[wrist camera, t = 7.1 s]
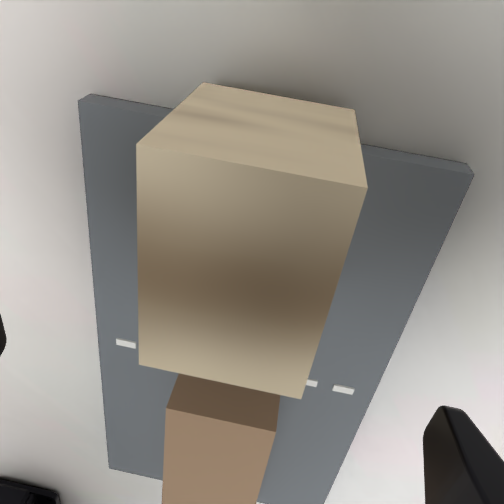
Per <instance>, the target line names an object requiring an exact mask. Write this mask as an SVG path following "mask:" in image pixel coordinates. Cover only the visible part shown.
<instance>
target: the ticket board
mask: <svg viewBox="0 0 504 504" xmlns="http://www.w3.org/2000/svg"><path fill="white" fill-rule="evenodd" d="M78 108H79V119H80V131H81V143H82V155H83V167H84V178H85V190H86V202H87V214H88V226H89V237H90V249H91V261H92V273H93V285H94V297H95V308H96V320H97V332H98V344H99V356H100V367H101V379H102V391H103V403H104V415H105V426H106V438H107V450H108V462H109V468H110V469H115V470H119V471H123V472H128V473H132V474H137V475H141V476H145V477H150V478H154V479H159V480H163V488H162V504H256V502H260V503H264V504H324V502H325V500H326V498H327V496H328V494H329V491H330V489H331V487H332V485H333V483H334V480H335V478H336V476H337V474H338V472H339V470H340V467H341V465H342V463H343V461H344V459H345V456H346V454H347V452H348V450H349V448H350V445H351V443H352V441H353V439H354V437H355V435H356V432H357V430H358V428H359V426H360V424H361V421H362V419H363V417H364V415H365V413H366V410H367V408H368V406H369V404H370V402H371V400H372V397H373V395H374V393H375V391H376V389H377V386H378V384H379V382H380V380H381V378H382V376H383V373H384V371H385V369H386V367H387V365H388V362H389V360H390V358H391V356H392V354H393V351H394V349H395V347H396V345H397V343H398V341H399V338H400V336H401V334H402V332H403V330H404V327H405V325H406V323H407V321H408V319H409V316H410V314H411V312H412V310H413V308H414V306H415V303H416V301H417V299H418V297H419V295H420V292H421V290H422V288H423V286H424V284H425V282H426V279H427V277H428V275H429V273H430V271H431V268H432V266H433V264H434V262H435V260H436V257H437V255H438V253H439V251H440V249H441V247H442V244H443V242H444V240H445V238H446V236H447V233H448V231H449V229H450V227H451V225H452V223H453V220H454V218H455V216H456V214H457V212H458V209H459V207H460V205H461V203H462V201H463V198H464V196H465V194H466V192H467V190H468V188H469V185H470V183H471V181H472V179H473V177H474V173H473V172H472V170H471V169H470V167H469V166H468V165H467V164H466V163H461V162H456V161H450V160H445V159H439V158H434V157H429V156H423V155H418V154H412V153H407V152H402V151H396V150H391V149H385V148H380V147H375V146H369V145H364V144H361V150H362V156H363V162H364V168H365V174H366V180H367V186H368V189H367V192H366V196H365V199H364V202H363V205H362V208H361V211H360V215H359V218H358V221H357V224H356V227H355V230H354V234H353V237H352V240H351V243H350V246H349V249H348V253H347V256H346V259H345V262H344V265H343V268H342V272H341V275H340V278H339V281H338V284H337V287H336V291H335V294H334V297H333V300H332V303H331V307H330V310H329V313H328V316H327V319H326V322H325V326H324V329H323V332H322V335H321V338H320V341H319V345H318V348H317V351H316V354H315V357H314V360H313V364H312V367H311V370H310V373H309V376H308V379H307V383H306V386H305V389H304V392H303V395H302V398H301V399H297V398H292V397H287V396H283V395H278V394H273V393H269V392H264V391H260V390H255V389H250V388H246V387H241V386H236V385H232V384H227V383H222V382H218V381H213V380H208V379H204V378H199V377H194V376H190V375H185V374H180V373H176V372H171V371H166V370H162V369H157V368H152V367H148V366H143V365H139V340H138V257H137V174H136V144H137V143H138V142H139V141H140V140H141V139H142V138H143V137H144V136H145V135H146V134H148V133H149V132H150V131H151V130H152V129H153V128H154V127H155V126H156V125H157V124H158V123H160V122H161V121H162V120H163V119H164V118H165V117H166V116H167V115H168V114H169V113H170V112H171V111H173V110H174V109H169V108H164V107H159V106H153V105H148V104H142V103H137V102H132V101H126V100H121V99H115V98H110V97H105V96H99V95H94V94H90V95H88V96H86V97H84V98H82V99H80V100H78Z"/></svg>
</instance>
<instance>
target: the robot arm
mask: <svg viewBox="0 0 504 504" xmlns="http://www.w3.org/2000/svg"><path fill="white" fill-rule="evenodd" d="M5 345H6V334H5V330H4V326H3V322H2V318H1V315H0V356H1V354H2V352H3V350H4V348H5ZM423 454H424V480H425V504H504V461H503V460H502V459H501V457H500V456H499V455H498V453H497V452H496V451H495V450H494V448H493V447H492V446H491V445H490V443H489V442H488V441H487V439H486V438H485V437H484V436H483V434H482V433H481V432H480V430H479V429H478V428H477V427H476V425H475V424H474V423H473V422H472V420H471V419H470V418H469V416H468V415H467V414H466V413H465V412H464V411H463V410H461V409H458V408H453V407H449V406H440V407H439V408H438V409H437V410H436V412H435V414H434V415H433V417H432V419H431V420H430V422H429V424H428V425H427V427H426V429H425V431H424V435H423ZM0 504H60V501H59V496H58V494H56V493H55V492H52V491H49V490H44V489H40V488H36V487H31V486H27V485H23V484H18V483H14V482H10V481H5V480H1V479H0Z"/></svg>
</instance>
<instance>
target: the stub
mask: <svg viewBox="0 0 504 504" xmlns="http://www.w3.org/2000/svg"><path fill="white" fill-rule="evenodd" d="M136 174H137V257H138V340H139V365H143V366H148V367H152V368H157V369H162V370H166V371H171V372H176V373H180V374H185V375H190V376H194V377H199V378H204V379H208V380H213V381H218V382H222V383H227V384H232V385H236V386H241V387H246V388H250V389H255V390H260V391H264V392H269V393H273V394H278V395H283V396H287V397H292V398H297V399H301V398H302V395H303V392H304V389H305V386H306V383H307V379H308V376H309V373H310V370H311V367H312V364H313V360H314V357H315V354H316V351H317V348H318V345H319V341H320V338H321V335H322V332H323V329H324V326H325V322H326V319H327V316H328V313H329V310H330V307H331V303H332V300H333V297H334V294H335V291H336V287H337V284H338V281H339V278H340V275H341V272H342V268H343V265H344V262H345V259H346V256H347V253H348V249H349V246H350V243H351V240H352V237H353V234H354V230H355V227H356V224H357V221H358V218H359V215H360V211H361V208H362V205H363V202H364V199H365V196H366V192H367V189H368V186H367V180H366V174H365V168H364V162H363V156H362V150H361V144H360V138H359V132H358V126H357V121H356V115H355V110H354V109H348V108H343V107H337V106H332V105H326V104H321V103H315V102H310V101H304V100H299V99H293V98H288V97H282V96H277V95H271V94H266V93H260V92H255V91H249V90H244V89H238V88H233V87H227V86H222V85H216V84H211V83H205V82H203V83H202V84H201V85H200V86H199V87H198V88H196V89H195V90H194V91H193V92H192V93H191V94H190V95H189V96H188V97H187V98H186V99H185V100H183V101H182V102H181V103H180V104H179V105H178V106H177V107H176V108H175V109H174V110H173V111H171V112H170V113H169V114H168V115H167V116H166V117H165V118H164V119H163V120H162V121H161V122H160V123H158V124H157V125H156V126H155V127H154V128H153V129H152V130H151V131H150V132H149V133H148V134H146V135H145V136H144V137H143V138H142V139H141V140H140V141H139V142H138V143H137V144H136Z"/></svg>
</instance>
